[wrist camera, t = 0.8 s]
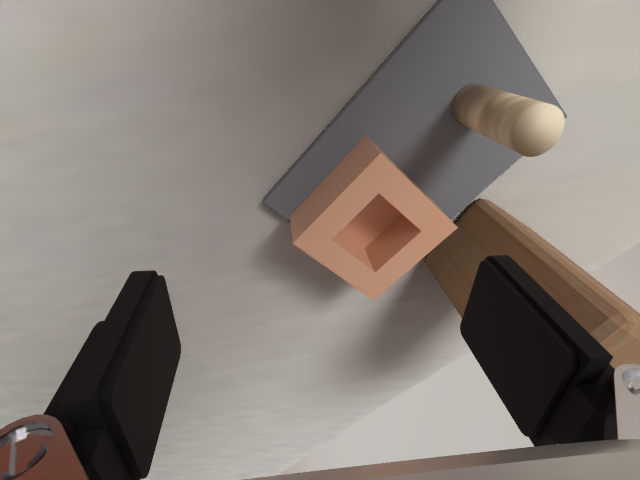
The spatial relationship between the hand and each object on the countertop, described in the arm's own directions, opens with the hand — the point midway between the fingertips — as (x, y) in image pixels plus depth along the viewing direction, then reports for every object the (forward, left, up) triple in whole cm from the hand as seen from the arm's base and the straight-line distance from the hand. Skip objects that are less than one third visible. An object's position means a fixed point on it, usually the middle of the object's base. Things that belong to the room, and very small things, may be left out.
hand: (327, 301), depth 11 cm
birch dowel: (-12, +12, -25) cm, 30 cm away
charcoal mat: (-5, +12, -26) cm, 29 cm away
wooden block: (-3, +27, -26) cm, 38 cm away
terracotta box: (+2, +12, -25) cm, 28 cm away
